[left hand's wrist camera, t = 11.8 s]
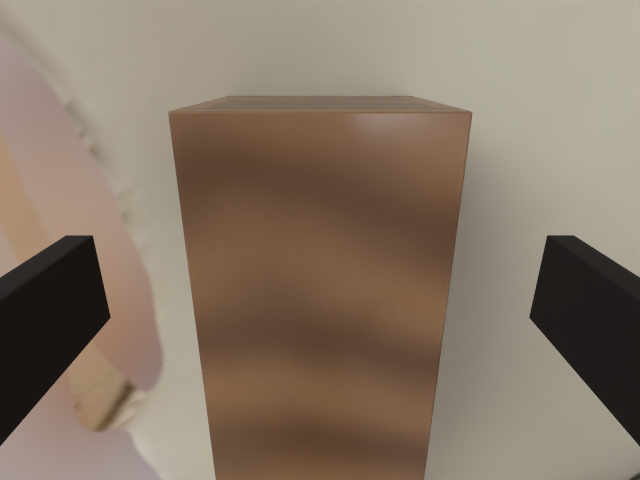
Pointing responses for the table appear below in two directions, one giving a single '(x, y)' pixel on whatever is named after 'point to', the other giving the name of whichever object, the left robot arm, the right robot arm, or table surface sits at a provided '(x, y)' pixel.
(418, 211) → the cabinet
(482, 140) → the table surface
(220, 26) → the table surface
